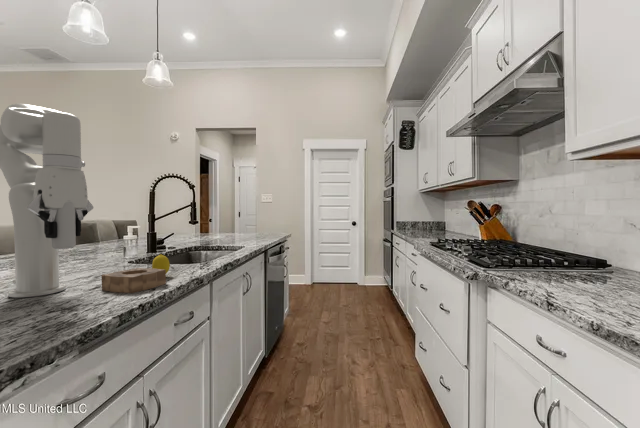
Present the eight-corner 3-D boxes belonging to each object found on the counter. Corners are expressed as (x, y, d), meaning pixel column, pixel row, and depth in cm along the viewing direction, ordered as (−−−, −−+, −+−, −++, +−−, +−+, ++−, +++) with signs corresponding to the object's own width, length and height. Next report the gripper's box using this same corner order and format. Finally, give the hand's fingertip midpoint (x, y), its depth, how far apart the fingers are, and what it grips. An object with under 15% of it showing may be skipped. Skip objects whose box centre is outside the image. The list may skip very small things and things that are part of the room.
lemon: (173, 275, 115) (172, 253, 115) (162, 279, 110) (162, 255, 110) (159, 275, 117) (159, 253, 117) (148, 278, 111) (148, 255, 111)
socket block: (98, 290, 95) (98, 275, 95) (137, 281, 107) (137, 267, 107) (132, 293, 91) (132, 277, 90) (168, 283, 103) (168, 269, 103)
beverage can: (62, 249, 79) (61, 199, 78) (46, 248, 80) (45, 199, 79) (80, 247, 83) (80, 200, 83) (65, 246, 84) (64, 200, 84)
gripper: (86, 168, 90) (87, 233, 91) (11, 160, 74) (12, 239, 75) (105, 167, 88) (106, 234, 88) (32, 158, 72) (33, 241, 72)
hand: (63, 236), depth 81 cm, fingers closed on beverage can, 4 cm apart
